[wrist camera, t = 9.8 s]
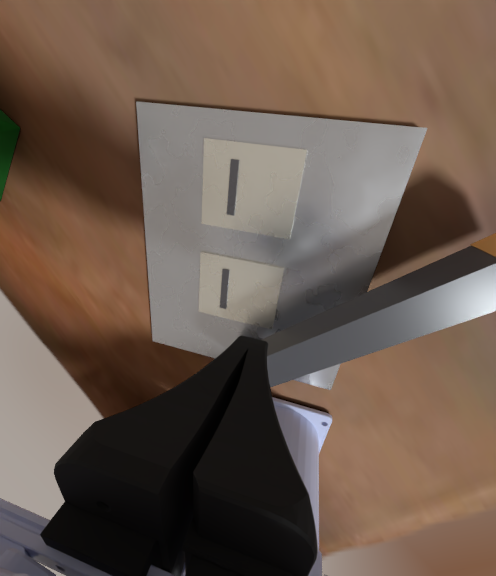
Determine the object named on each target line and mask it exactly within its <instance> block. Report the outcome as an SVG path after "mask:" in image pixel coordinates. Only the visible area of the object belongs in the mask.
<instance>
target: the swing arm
mask: <svg viewBox="0 0 496 576" xmlns="http://www.w3.org/2000/svg"><path fill="white" fill-rule="evenodd" d="M470 245H471V246H469V247H467V248H465V249H463V250H460V251H458V252H456V253H454V254H451V255H449V256H447V257H445V258H442V259H440V260H438V261H436V262H434V263H431V264H429V265H427V266H425V267H422V268H420V269H418V270H416V271H413V272H411V273H409V274H407V275H404V276H402V277H400V278H398V279H395V280H393V281H391V282H389V283H387V284H384V285H382V286H380V287H378V288H375V289H373V290H371V291H369V292H366V293H364V294H362V295H360V296H357V297H355V298H353V299H351V300H348V301H346V302H344V303H342V304H339V305H337V306H335V307H333V308H331V309H328V310H326V311H324V312H322V313H319V314H317V315H315V316H313V317H310V318H308V319H306V320H304V321H301V322H299V323H297V324H295V325H292V326H290V327H288V328H286V329H283V330H281V331H279V332H277V333H275V334H272V335H270V336H268V337H266V338H263V339H261V340H263V341H267V343H268V350H267V369H268V378H269V384H270V387H273V386H276V385H279V384H282V383H285V382H288V381H290V380H293V379H296V378H299V377H302V376H305V375H308V374H311V373H314V372H317V371H320V370H323V369H326V368H329V367H332V366H335V365H338V364H341V363H344V362H347V361H350V360H352V359H355V358H358V357H361V356H364V355H367V354H370V353H373V352H376V351H379V350H382V349H385V348H388V347H391V346H394V345H397V344H400V343H403V342H406V341H409V340H412V339H415V338H417V337H420V336H423V335H426V334H429V333H432V332H435V331H438V330H441V329H444V328H447V327H450V326H453V325H456V324H459V323H462V322H465V321H468V320H471V319H474V318H477V317H479V316H482V315H485V314H488V313H491V312H494V311H496V233H495V234H493V235H491V236H488V237H486V238H484V239H482V240H479V241H477V242H475V243H473V244H470Z"/></svg>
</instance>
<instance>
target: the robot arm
mask: <svg viewBox="0 0 496 576" xmlns="http://www.w3.org/2000/svg"><path fill="white" fill-rule="evenodd" d="M267 350H268V343H267V341H263V340H259V339H254V338H250V337H246V336H242V335H241V336H239V337H238V338H237V339H236V340H235V341H234V342H233V343H232V344H231V345H230V346H229V347H228V348H227V349H226V350H225V351H223V352H222V353H221V354H220V355H219V356H218V357H217V358H215V359H214V360H213V361H212V362H211V363H209V364H208V365H207V366H205V367H204V368H203V369H201V370H200V371H199V372H197V373H196V374H194V375H193V376H192V377H190V378H189V379H187V380H185V381H184V382H182V383H181V384H179V385H177V386H176V387H174V388H172V389H170V390H169V391H167V392H165V393H163V394H161V395H159V396H157V397H155V398H153V399H151V400H149V401H147V402H145V403H143V404H140V405H138V406H136V407H134V408H131V409H129V410H126V411H124V412H121V413H118V414H116V415H113V416H110V417H107V418H105V419H102V420H99V421H96V422H94V423H93V424H92V425H91V426H90V427H89V428H88V429H87V430H86V431H85V432H84V433H83V434H82V435H81V436H80V437H79V439H78V440H77V441H76V442H75V443H74V444H73V445H72V446H71V447H70V448H69V450H68V451H67V452H66V453H65V454H64V455H63V456H62V457H61V458H60V460H59V461H58V462H57V463H56V464H55V469H54V475H55V478H56V481H57V483H58V486H59V488H60V491H61V493H62V495H63V498H64V500H65V502H64V504H63V505H62V506H61V508H60V509H59V510H58V511H57V513H56V514H55V515H54V517H53V518H52V519H51V520H48V519H46V518H44V517H41V516H39V515H37V514H35V513H32V512H30V511H28V510H25V509H23V508H21V507H19V506H17V505H14V504H12V503H10V502H7V501H5V500H3V499H1V498H0V576H56V575H55V574H54V573H52V572H51V571H50V570H48V569H47V568H45V567H44V566H42V565H41V564H43V565H45V566H47V567H49V568H51V569H54V570H56V571H58V572H60V573H62V574H64V575H66V576H322V554H321V552H320V551H319V452H320V450H321V447H322V445H323V442H324V440H325V438H326V435H327V433H328V430H329V428H330V425H331V423H332V416H331V415H330V414H328V413H326V412H322V411H319V410H315V409H312V408H308V407H305V406H302V405H298V404H295V403H291V402H288V401H284V400H281V399H277V398H274V397H272V394H271V389H270V384H269V378H268V369H267ZM36 561H37V562H36ZM38 562H39V563H41V564H39V563H38ZM324 576H327V575H324Z"/></svg>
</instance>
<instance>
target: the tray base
mask: <svg viewBox="0 0 496 576" xmlns="http://www.w3.org/2000/svg"><path fill="white" fill-rule="evenodd" d="M136 107H137V121H138V136H139V150H140V165H141V179H142V194H143V208H144V223H145V237H146V252H147V266H148V281H149V295H150V310H151V324H152V339H153V341H154V342H158V343H161V344H165V345H169V346H172V347H176V348H179V349H183V350H187V351H190V352H194V353H198V354H201V355H205V356H209V357H212V358H217V357H218V356H219V355H220V354H221V353H222V352H223V351H225V350H226V349H227V348H228V347H229V346H230V345H231V344H232V343H233V342H234V341H235V340H236V339H237V338H238V337H239V336H241V335H242V336H246V337H250V338H254V339H259V340H261V339H263V338H266V337H268V336H270V335H272V334H275V333H277V332H279V331H281V330H283V329H286V328H288V327H290V326H292V325H295V324H297V323H299V322H301V321H304V320H306V319H308V318H310V317H313V316H315V315H317V314H319V313H322V312H324V311H326V310H328V309H331V308H333V307H335V306H337V305H339V304H342V303H344V302H346V301H348V300H351V299H353V298H355V297H357V296H360V295H362V294H364V293H366V292H367V290H368V288H369V285H370V282H371V280H372V277H373V274H374V271H375V269H376V266H377V263H378V261H379V258H380V255H381V252H382V250H383V247H384V244H385V242H386V239H387V236H388V233H389V231H390V228H391V225H392V223H393V220H394V217H395V214H396V212H397V209H398V206H399V204H400V201H401V198H402V195H403V193H404V190H405V187H406V185H407V182H408V179H409V177H410V174H411V171H412V168H413V166H414V163H415V160H416V158H417V155H418V152H419V149H420V147H421V144H422V141H423V139H424V136H425V133H426V130H427V128H421V127H410V126H399V125H388V124H377V123H366V122H355V121H344V120H333V119H322V118H312V117H301V116H290V115H279V114H268V113H257V112H246V111H235V110H224V109H213V108H202V107H191V106H180V105H170V104H159V103H148V102H137V101H136ZM339 366H340V364H338V365H335V366H332V367H329V368H326V369H323V370H320V371H317V372H314V373H311V374H308V375H305V376H302V377H299V378H296V379H293V380H296V381H299V382H303V383H307V384H310V385H314V386H318V387H321V388H325V389H329V390H331V388H332V385H333V383H334V380H335V377H336V374H337V372H338V369H339Z"/></svg>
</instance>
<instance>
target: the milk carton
mask: <svg viewBox="0 0 496 576" xmlns="http://www.w3.org/2000/svg"><path fill="white" fill-rule="evenodd" d="M19 131H20V127H19V126H17V125H16V124H15V123H14V122H13V121H12V120H11V119H10V118H9V117H8V116H7V115H6V114H5V113H4V112H3V111H1V110H0V201H1V198H2V194H3V191H4V187H5V183H6V179H7V176H8V172H9V168H10V165H11V161H12V157H13V153H14V150H15V146H16V142H17V139H18V135H19Z"/></svg>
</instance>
